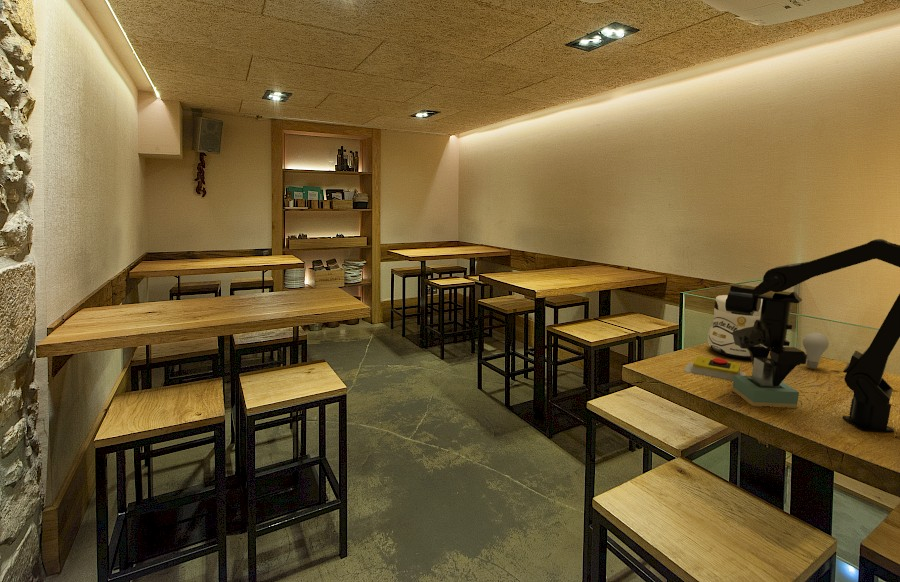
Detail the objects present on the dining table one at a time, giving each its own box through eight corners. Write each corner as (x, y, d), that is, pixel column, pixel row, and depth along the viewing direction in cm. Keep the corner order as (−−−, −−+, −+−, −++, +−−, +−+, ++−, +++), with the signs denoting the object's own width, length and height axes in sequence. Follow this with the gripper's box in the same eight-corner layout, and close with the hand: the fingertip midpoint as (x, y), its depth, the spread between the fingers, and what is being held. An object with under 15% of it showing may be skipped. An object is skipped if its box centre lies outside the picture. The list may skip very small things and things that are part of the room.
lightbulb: (828, 373, 138) (835, 336, 136) (805, 371, 140) (810, 335, 138) (817, 366, 144) (823, 330, 142) (794, 364, 146) (800, 329, 143)
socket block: (796, 408, 114) (799, 392, 114) (752, 406, 115) (754, 390, 114) (772, 391, 124) (774, 377, 123) (732, 390, 125) (734, 375, 124)
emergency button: (745, 369, 129) (684, 358, 138) (743, 384, 130) (682, 373, 138) (747, 360, 137) (689, 350, 145) (745, 375, 138) (688, 364, 146)
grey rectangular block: (778, 398, 117) (783, 363, 115) (759, 397, 117) (763, 362, 116) (767, 391, 121) (772, 357, 120) (749, 391, 122) (754, 357, 120)
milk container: (701, 354, 154) (708, 300, 151) (711, 342, 168) (717, 292, 164) (765, 366, 144) (773, 307, 140) (770, 352, 157) (778, 298, 154)
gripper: (721, 308, 126) (714, 365, 128) (760, 327, 107) (751, 393, 110) (765, 310, 125) (758, 367, 128) (813, 328, 106) (803, 395, 109)
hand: (765, 379), depth 119 cm, fingers open, 8 cm apart
